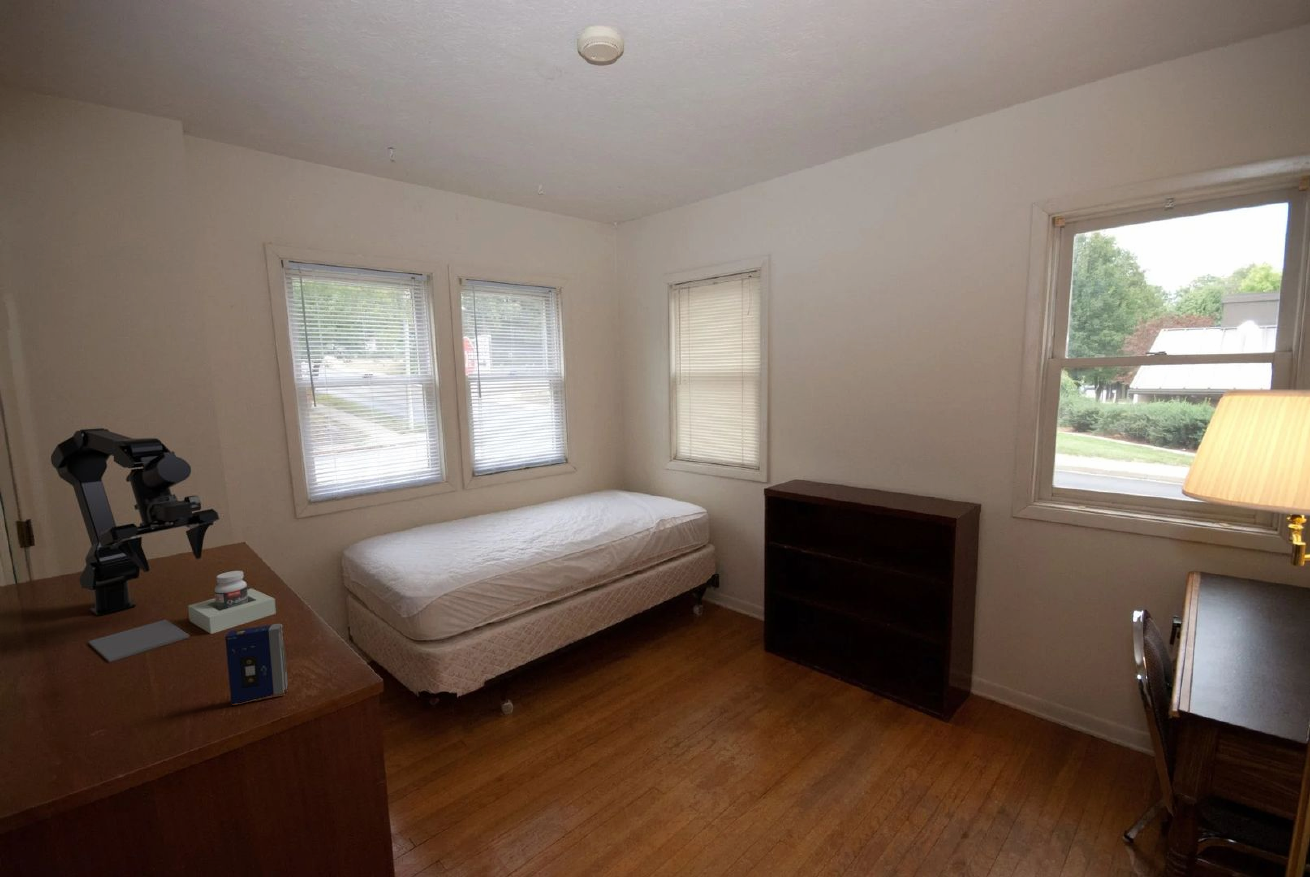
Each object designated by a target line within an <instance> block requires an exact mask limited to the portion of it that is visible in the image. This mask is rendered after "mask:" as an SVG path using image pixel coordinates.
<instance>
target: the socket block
mask: <svg viewBox="0 0 1310 877" xmlns="http://www.w3.org/2000/svg"><path fill="white" fill-rule="evenodd" d="M247 594H248V603H245V604H242V605H238V606H235V607H231V608H228V609H224V610H221V611H218V610H217V609H216V603H215V597H214V598H212V599H208V600H204V601H201V602H200V601H199V602H197V603H192V604H188V606H187V609H188V619H189V622H191V623H192V624H194V625H196V626H197V627H199V628H201V629H203V630H204V631H205V632H207V633H208V634H211V635H212V634H215V633H219V632H222V631H225V630H228V629H231V628H234V627H237V626H241V625H244V624H247V623H251V622H253V621H257V620H260V619H263V618H266V617H269V616H273V615H276V613H277V612H276V599H275V598H274V597H272V596H270V595H267V594H265V593H263V592H260V591H259V590H257V589H256V590H255V589H254V588H249V589H248V588H247Z"/></svg>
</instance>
